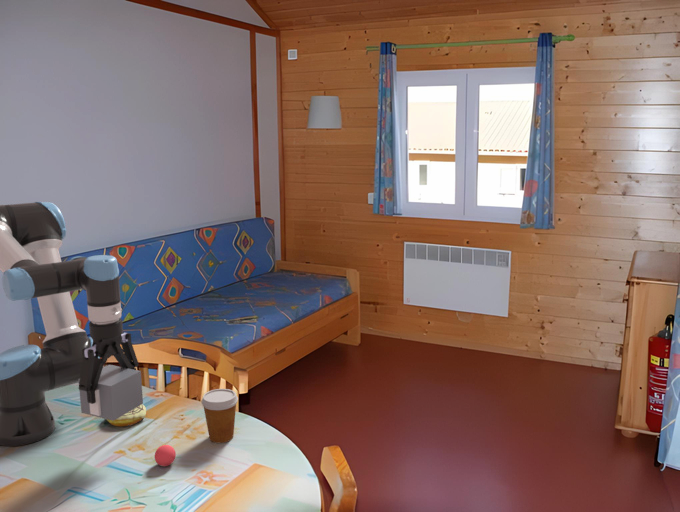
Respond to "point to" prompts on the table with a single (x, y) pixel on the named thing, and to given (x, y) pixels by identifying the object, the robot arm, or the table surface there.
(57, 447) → the table surface
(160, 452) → the ball
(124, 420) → the decorated donut
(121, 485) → the table surface
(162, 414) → the table surface
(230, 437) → the disposable coffee cup
